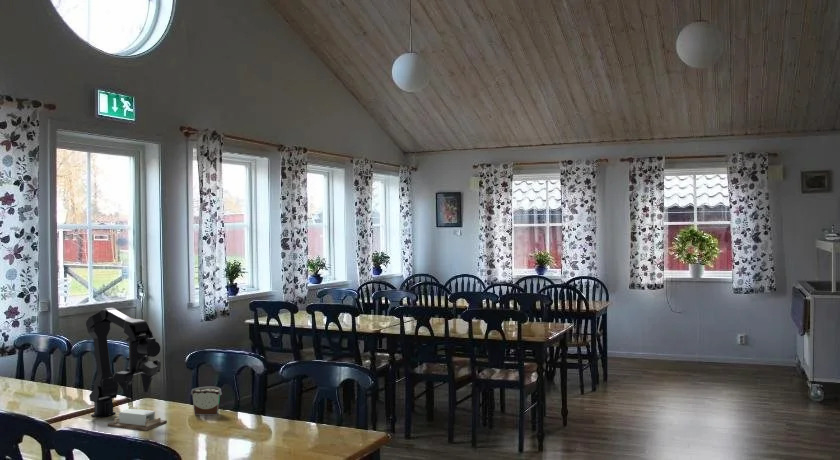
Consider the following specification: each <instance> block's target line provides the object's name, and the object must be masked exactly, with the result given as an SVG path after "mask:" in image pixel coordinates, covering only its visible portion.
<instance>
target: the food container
mask: <svg viewBox="0 0 840 460" xmlns="http://www.w3.org/2000/svg"><path fill="white" fill-rule="evenodd" d="M190 395H192V403H193V412H194V414H195V416H218V415H219V409H220V398H221V395H223V393H222V389H221V387H219V386H201V387H200V386H199V387H195V388H192V389H191V391H190Z"/></svg>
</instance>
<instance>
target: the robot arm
mask: <svg viewBox="0 0 840 460" xmlns="http://www.w3.org/2000/svg"><path fill="white" fill-rule="evenodd" d="M112 324H114V325H116V326H117V327H120V328H121V329H122V330H123V333H124V334H125V335H126V336H127V338H126V339H125V342H127V343H128V356H127V357H126V361H128V367H126V371H125V370H121V371H117V372H115V373H114V374H113V373H112V369H111V359H110V352H109V341H108V335H109V333H110V330H111V325H112ZM85 326H86V330H87V333H88V335H89V336H90V337H91V339H92V340H93V346H94V347H93V348H94V355H95V356H94V357H95V363H96V366H95V367H96V373H97V375H96V378H95V380H94V382H93V389H92V390H91V393H90V394H89V395H88V397H89V400H90V402H93V403H94V405H93V409H94V410H93V412H94V413H92V414H91V415H90V416H91V417H94V418H97V417H98V418H106V417H109V416H113V415H115V414H116V411H114V402H113V399H116V398H117V397H118V392H119V386H120V387H121V390H122V391H123V393H124V395H125V396H126V398H127V399H130V398H131V395H132V394H131V392H132V391H131V390H132V389H131V388H132V384H133V382H134V380H133V379H134V377H135V376H139V375H140V376H141V382H142V388H143V391H144V393H148V392H149V389H150V386H151V383H152V380H153V378H154V377H156V376H157V375H158V373H160V372H161V365H162V364H161V363H162V362H161V360H160V359H154V360H149V357H150V358H155V357H156V356H158V355H159V354H160V352H161V345H160V344H159V342H158V341H157V340H156V338H155V337H154V335H153V332H152V330H151V329H150V327H149V324H148V322H147V321H146V320H144V319H140V318H132V317H130V316H128V315H126V314H124V313H123V312H121V311H119V310H118V309H116V308H114V307H106V308H103V309H101V310H100V311H98V312H96V313H95V314H93V315H91V316H89V317H88V318H87V320H86V321H85Z"/></svg>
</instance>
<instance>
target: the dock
mask: <svg viewBox="0 0 840 460" xmlns="http://www.w3.org/2000/svg"><path fill="white" fill-rule="evenodd" d="M167 422H168V421H167V420H166V419H165V420H164V419H161V417H160V416H159V417H155V419H153V420H150V421H149V418H146V422H145V426H143V425H134V424H126V423H119V417H116V418H113V421H112V422H109V423H107V427H112V428H113V427H114V428H121V429H128V430H138V431H149V430H152V429H154V428H156V427H159V426H161V425H164V424H167Z"/></svg>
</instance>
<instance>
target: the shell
mask: <svg viewBox="0 0 840 460" xmlns="http://www.w3.org/2000/svg"><path fill="white" fill-rule="evenodd" d="M118 416H119V423H126V424H134V425H143V426H145V422H146V418H149V421H150V420H153V419H155V418H156V411H155V410H149V409H147V410H146V409H141V408H140V409H139V408H128V409H124V410H122V411H119V412H118Z"/></svg>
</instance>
